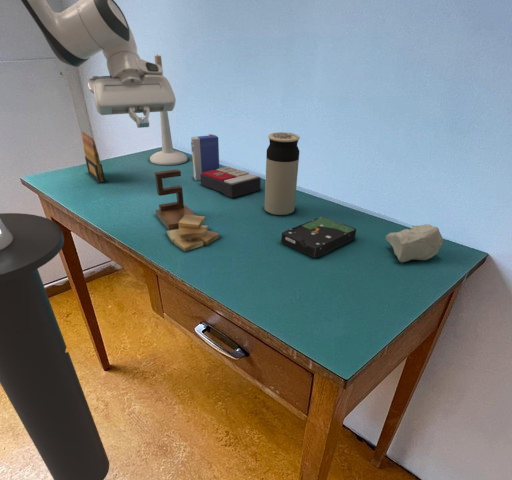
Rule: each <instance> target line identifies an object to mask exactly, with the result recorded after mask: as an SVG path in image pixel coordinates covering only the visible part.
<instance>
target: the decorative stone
mask: <svg viewBox="0 0 512 480" xmlns="http://www.w3.org/2000/svg"><path fill="white" fill-rule="evenodd" d="M385 241H386V242H388V243H389V244H390V245H391V247H392V249H393V254H394V255H395V256H396V257H397V260H398V261H399V263H406V262H409V261H427V260H429V259H431V258H433V257H434V256H436V255H437V254H438V253H439V252H440V249H441V248H442V246H443V244H444V238H443V236H442V233H441V232H440V229H439V227H438V226H433V225H431V224H427V223H426V224H421V225H412V227H411V228H410V229H409V228H404V229H402V230H400V231H397V232H388V233H387V235H386V236H385Z"/></svg>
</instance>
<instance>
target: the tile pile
mask: <svg viewBox="0 0 512 480" xmlns="http://www.w3.org/2000/svg"><path fill="white" fill-rule="evenodd" d="M195 215H196V214H195ZM195 215H184V217H183V218H182V219H181V220H180V221H179V222H178V225H179V229H176V230H166V235H167V236H168V239H169V240H170V242H171V243H172V244H173V245H175V246H177V247H178V248H179V249H180V250H182V251H183V252H189V251H191V250H195V249H198V248H200V247H204V245H205V246H208V245H210V244H212V243H213V242H215V241H217V240H218V239H219V238H220V233H217V232H214V231H211V230H209V226H208V225H203V224H204V223H205V222H206V216H203V215H196V216H195Z"/></svg>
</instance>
